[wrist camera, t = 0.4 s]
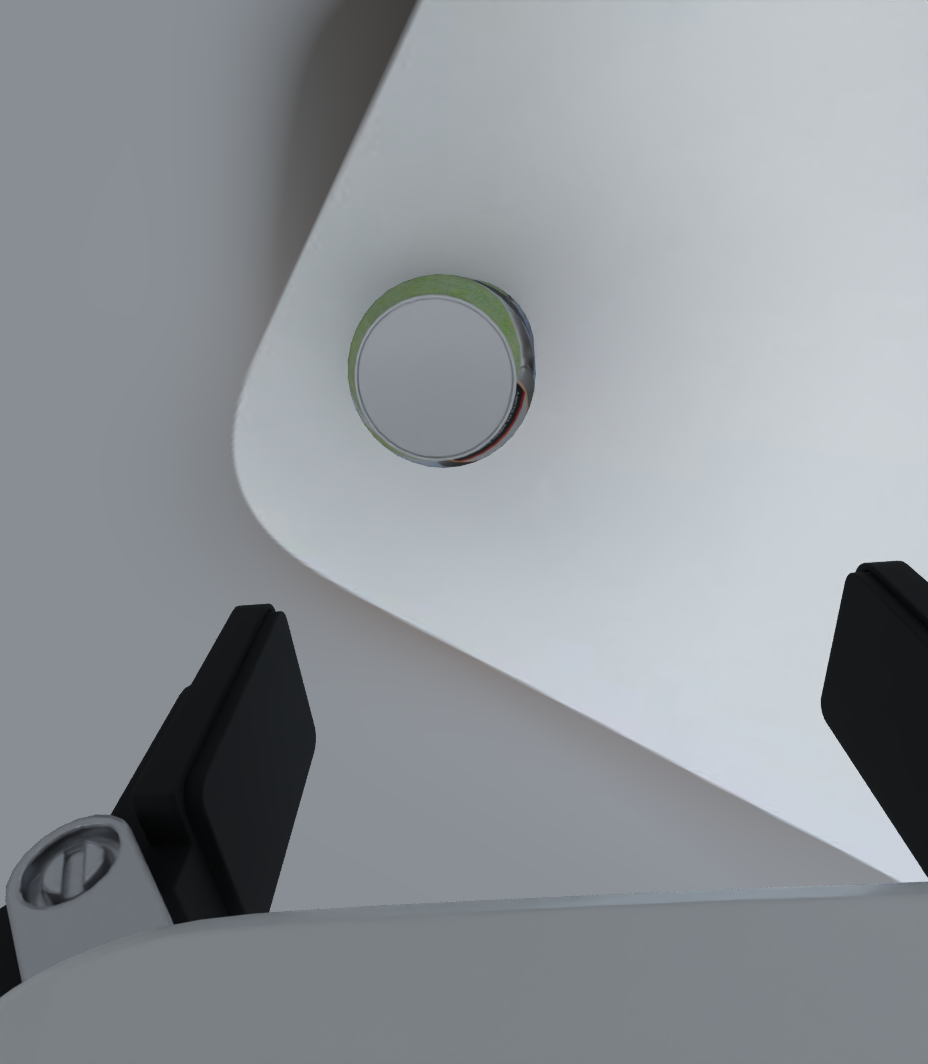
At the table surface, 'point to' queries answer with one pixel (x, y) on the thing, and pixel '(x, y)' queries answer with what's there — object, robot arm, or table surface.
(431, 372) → the beverage can
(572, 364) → the table surface
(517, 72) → the table surface
